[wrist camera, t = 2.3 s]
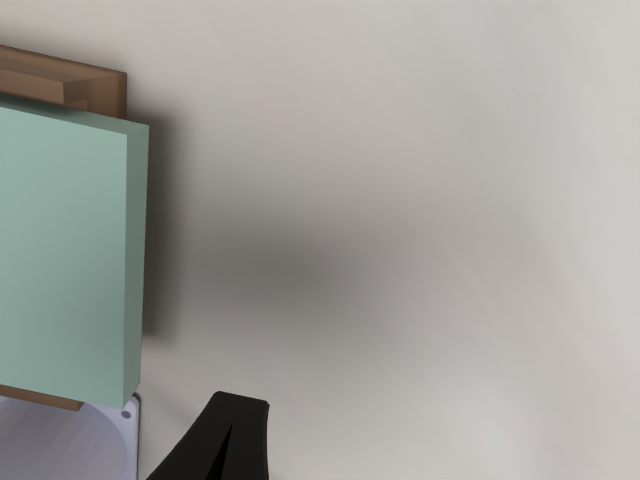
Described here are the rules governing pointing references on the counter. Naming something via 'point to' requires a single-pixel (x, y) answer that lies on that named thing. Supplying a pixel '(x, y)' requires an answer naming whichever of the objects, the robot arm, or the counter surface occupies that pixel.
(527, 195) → the counter surface
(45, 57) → the walnut box
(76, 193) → the cover plate
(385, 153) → the counter surface
